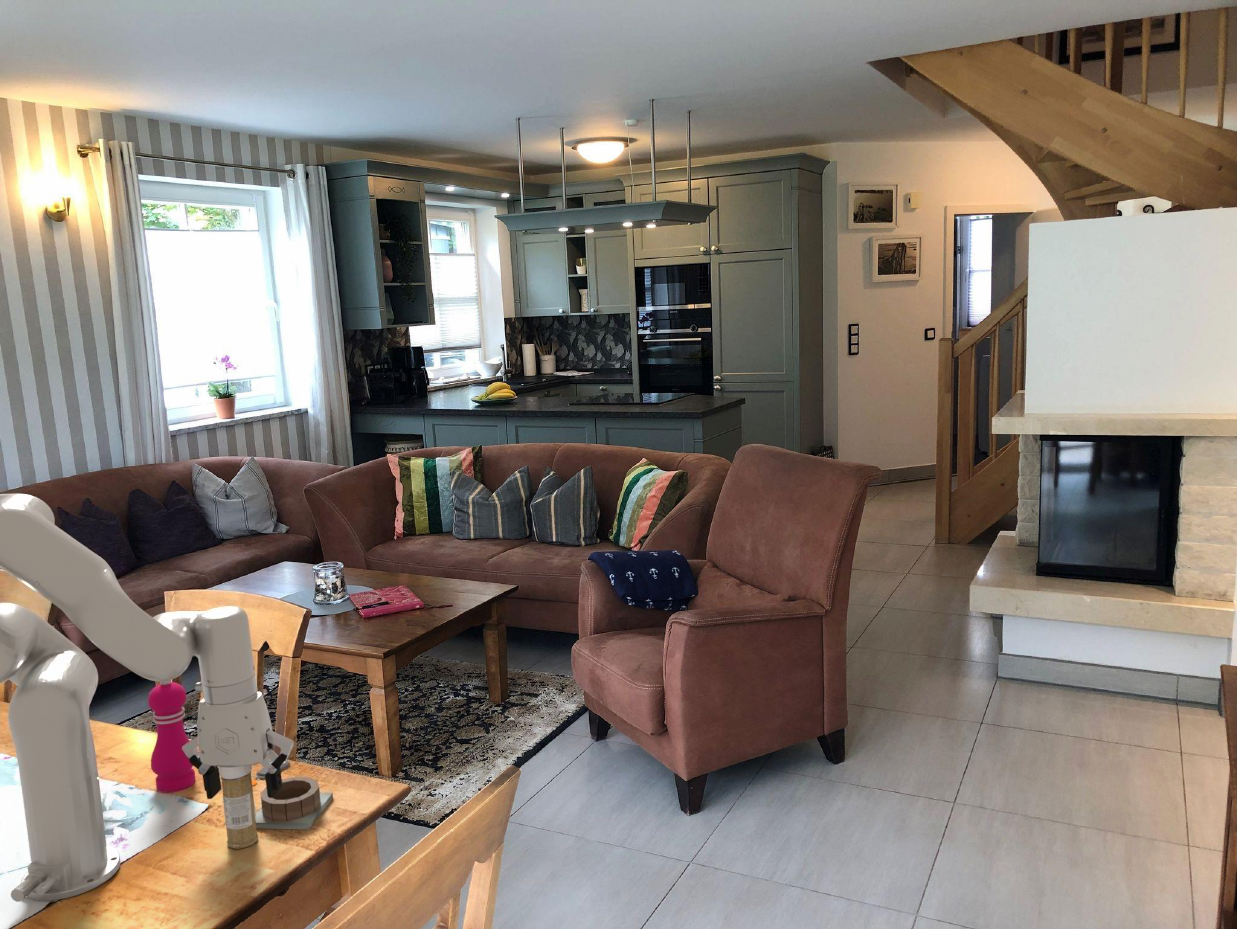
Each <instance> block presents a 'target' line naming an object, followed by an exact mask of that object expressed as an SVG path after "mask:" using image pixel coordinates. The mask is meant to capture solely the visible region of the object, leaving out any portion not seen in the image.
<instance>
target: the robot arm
mask: <svg viewBox="0 0 1237 929" xmlns="http://www.w3.org/2000/svg"><path fill="white" fill-rule="evenodd" d="M55 521H56V520H55V515H54V512H53V511H52V509H51V507H50V506H49V505H48V504H47V503H46V502H45V501H44V500H42V499H40V498H38V497H37V496H33V495H31V494H25V493H0V569H1V570H2V571H4V572H6V573H7V574H9V575H10V576H11V577H13V578H15V579H16V580H18V581H19V582H20V583H22V584H24V585H25V586H27V587H28V588H30V589H31V590H32V591H34V592H36V593H37V594H39V595H40V596H41V597H43V598H44V599H46V600H47V601H49V602H51V604H53V605H54V606H56V607H57V608H58V609H60V610H61V611H62V612H63V613H64V614H65V615H66V617H67V618H68V619H69V620H70V622H71V623H73V625H75V626H76V627H77V628H78V630H80V631H81V632H82V634H84V636H86V637H87V639H88V640H89V641H91V643H93V644H94V645H95V646H96V647H97V648H98V649H100V650H101V651H102V652H103V653H105V654H106V655H107V656H109V657H110V658H111V659H112V660H113V659H114V661H116V662H117V663H119V664H121V665H122V666H123V667H125V668H127V669H128V670H130V671H131V672H132V673H135V674H136V675H138V676H140V677H141V678H143V679H147V680H149V681H151V682H152V681H154V682H160V681H168V680H171V681H172V680H174V679H176V678H178V677H179V676H181V675H182V674H183V673H184V672H185V671H186V670H187V669H188V667H189V665H190V663H191V661H192V660H193V659H192V658H193V657H196V658H197V659H198V665H199V673H200V678H201V679H200V680H201V681H200V682H196V683H195V686H194V690H195V691H196V692H200V693H202V698H203V699H201V700H200V701H199V702H198V710H197V736H195V737H194V738H192V739H191V740H190V739H189V740H190V741H189V742H187V743H186V744H185V745H183V746H182V750H183V751H184V753H185V754H186V756H187V757H189V762H190V763H191V764H192V765H193V767H194V768H196V769H197V772H198V774H199V775H200V776H202V781H203V788H204V791H205V792H206V794H205V795H206V798H207V800H212V799H213V798H214V797H215V796H217V794H218V793H219V792H221V790H222V780H221V776H220V771H219V766H250V765H252V766H256V765H259V764H260V765H261V766H262V767H263V768H265V769H266V770H267V771H268V772H267V773H266V774H265V779H264V780H265V788H267V795H268V797H269V798H273V797H274V796H275V795H276V794H277V793H278V791H279V790H280V789H281V787H282V779H283V778H282V771H281V770H280V766H281V765H282V764H283V763H284V761H285V760H287V759H288V758H289V757H290V756H291V752H292V750H293V747H294V745H295V741H294V740H293V739H291V738H288V737H286V736H284V735H282V734H280V733H277V732H276V731H273V726H272V722H271V718H270V713H269V709H268V707H267V703H266V701H265V698H264V696H263V694H262V692H261V691H258V685H257V684H258V683H257V677H256V676H257V675H256V669H255V662H254V655H253V645H252V638H251V630H250V624H249V619H248V614H247V612H246V610H244V609H243V608H241V607H240V606H235V605H234V606H231V605H230V606H229V605H228V606H219V607H214V608H210V609H208V610H207V609H206V610H203V611H202V610H201V611H199V610H198V611H167V612H162V613H159V614H156V615H154V616H151V615H150V614H149V613H147V612H146V611H144V610H143V609H142V608H141V607H140V606H138V605H137V603H135V602H134V601H133V600H132V599H131V598H130V597H129V596H128V595H127V593H126V592H125V591H124V589H123V588H122V587H121V585H120V583H119V581H118V579H117V577H116V574H115V572H114V571H113V569H112V568H111V566H110V565H109V564H108V562H107V561H106V560H105V559H103V558H102V557H101V556H99V555H98V554H97V553H95V552H93V551H92V550H91V549H89V548H88V547H87V546H85V545H84V544H83V543H81V542H79V541H78V540H76V539H75V538H73V536H71V535H69V534H68V533H67V532H65V531H64V530H63V529H61V528H59V527H58V526H57V525H56V524H55ZM7 681H10V682H11V683H13V684H14V685H15V686H16V689H15V690H14V692H13V693H12V696H11V698H10V701H9V702H10V703H9V706H8V710H7V711H8V714H7V715H8V716H7V718H8V719H7V721H8V728H9V731H10V736H11V739H12V743H13V746H14V750H15V755H16V760H17V765H18V766H17V767H18V772H19V773H18V774H19V779H20V786H21V792H22V800H23V808H24V817H25V825H26V830H27V842H28V849H29V855H30V861H31V862H30V863H29V864H28V865H27V872H26V873H25V874H24V875H23V877H22V878H21V882H20V884H19V885H17V886H16V887H15V888H14V889H13V890H11V892H10V897H11V899H12V901H15V902H16V903H18V902H22V901H24V900H25V899H26V898H29V899H31V900H35V901H55V900H56V901H59V900H63V899H67V898H72V897H74V896H78V895H81V894H83V893H86V892H89V891H91V890H93V889H95V888H97V887H99V886H100V885H103V884H104V883H105V882H106V881H108V880H110V879H111V878H112V877H113V876H114V875H115V874H116V873H117V871H118V870H119V868H120V866H121V856H120V853H119V852H118V850H116V849H115V848H113V847H109V846H107V837H106V830H105V829H106V828H105V821H104V812H103V811H104V810H103V805H102V804H103V803H102V796H101V795H102V794H101V786H100V779H99V778H100V776H99V769H98V768H99V767H98V763H97V754H96V747H95V741H94V737H93V732H92V728H91V727H92V726H91V723H90V722H91V721H90V704H91V702H92V700H93V697H94V695H95V694H96V690H97V688H98V683H99V673H98V669H97V667H96V665H95V663H94V662H93V660H92V659H91V658H90V657H89V655H87V654H86V652H84V651H83V650H82V649H81V648H80V647H78V646H77V645H76V644H74V642H72V641H71V640H70V639H68V637H66V636H65V635H64V634H62V633H61V632H60V631H58V630H57V629H56V628H55V627H54V626H52V625H51V624H50V623H49V622H47V621H46V620H45V619H44V618H43V617H41V616H40V615H39V614H37V613H36V612H34V611H33V610H31V609H29V608H28V607H25V606H22V605H20V604H17V603H13V602H0V685H2V684H4V683H6V682H7ZM275 746H276V747H279V749H280V752H279V754H277V753H276V751H275V750H274V748H275Z"/></svg>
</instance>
